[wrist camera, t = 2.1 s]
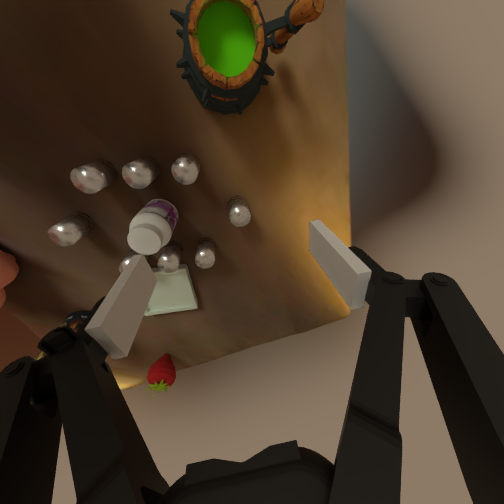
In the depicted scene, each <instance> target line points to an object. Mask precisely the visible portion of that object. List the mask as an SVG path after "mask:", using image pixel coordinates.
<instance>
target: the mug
mask: <svg viewBox="0 0 504 504" xmlns="http://www.w3.org/2000/svg"><path fill="white" fill-rule="evenodd" d="M323 8H324V0H294V1H293V2H292V3H291V4H290V5H289V6H288V8H287V9H286V11H285V15H284V16H283V17H280V18H277V19H275V20H272V21H269V22H267V23H265V21H264V18H263V15H262V13H261V10H260V7H259V4H258V2H257V1H256V0H190V2H189V3H188V5H187V6H186V12H185V14H184V13H181V12H178V11H175V10H172V9H171V10H170V15H171V16H172V17H173V18H174V19H175V20H176V21H177V22H178V23H179V24H181V25H182V26H183V31H181V30H178V29H177V33H176V34H177V35H178V36H179V37H181V38H182V39H183V42H184V49H183V58H182V59H181V60H179V61H178V62H177V63H176V65H177V68H185V72H184V73H183V74H182V75H181V76H182V79H187V81H188V83H189V84H190V86H191V88H192V90H193V92H194V93H195V95H196V97H197V98H198V99H199V100H200V101H201V102H202V103H203V104H204V108H205V109H207V107H208V108H209V109H210V110H213V111H216V112H219V113H222V114H230V113H238V112H239V114H240V115H241V114H242V109H244V108H245V107H247V106H248V105H250V104H251V103H252V101H253V99H254V98H255V96H256V95H257V93H258V92H259V90H260V86H261V84H262V85H268V81H267V80H266V79H265V78H264V77H263V74H267V75H271V76H274V73H275V72H274V71H273V70H272V69H271V68H270V67H269V66H268V65H267V64H266V63H265V62H266V59H267V55H268V47H269V48H270V50H271V52H273V53H275V54H279V53H281V52H283V50H284V48H285V47H286V44H287V42H288V40H289V39H290V38H291V37H292V36H293V34H296V33H297V32H298V31H299V30H300V29H301V28H302V27H303V26H304V25H305V23H308V22H312V21H314V20H316V19H317V18H318V17H319V16H320V14H321V13H322V10H323ZM270 34H271V35H270ZM268 35H270V36H269V38H267V36H268Z"/></svg>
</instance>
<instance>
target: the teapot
mask: <svg viewBox="0 0 504 504" xmlns="http://www.w3.org/2000/svg"><path fill="white" fill-rule="evenodd" d="M15 261H16V259H15V257H14V256H13V255H11V254H9V253H4V252H3V251H2V250H1V249H0V308H1V307H2V306H3V304H4V302H5V299H6V293H5V290H4V287H5V286H6V285H8V284H9V283H10V282H12V281H13V280H14V279H15V278H16V276H17V274H18V272H19V266H18V265H17V263H16V262H15Z"/></svg>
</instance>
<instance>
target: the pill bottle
mask: <svg viewBox="0 0 504 504" xmlns="http://www.w3.org/2000/svg"><path fill="white" fill-rule="evenodd" d="M177 221H178V211H177V209H176V208H175V206H174V205H173V204H172V203H170V202H169V201H167V200H164V199H153V200H151V201H149V202H148V203H147V204H146V205H145V206H144V207H143V208H142V209H141V210H140V211H139V212H138V214H137V215H136V216H135V217H134V218H133V219H132V221H131V223H130V226H129V231H130V232H129V234H128V236H127V241H128V244H129V246H130V247H131V248H132V249H133V250H134V251H136V252H137V253H140V254H143V255H151V254H154V253H156V252H158V251H159V249H160V248H161V247H163V246H165V245H166V244H167V243H168V242H169V240H170V239H171V236H172V234H173V231H174V229H175V226H176V224H177Z"/></svg>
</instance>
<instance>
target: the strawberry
mask: <svg viewBox="0 0 504 504" xmlns="http://www.w3.org/2000/svg"><path fill="white" fill-rule="evenodd" d="M175 378H176V372H175V367H174V364H173V362H172V360H171V358H170V356H169V354H165V355H163V356H162V357H161V358H159V359H158V360H157V361H156V362H155V363H154V364H153V365H152V366H151V368H150V370H149V371H148V376H147V380H148V382H149V384H148V385H150V386H151V387H152V388H149V389H147V390H154V389H155V388H157V391H159V392H160V391H161V390H163V391H167V390H166V389H165V388H168V387H170V386H171V385H172V384H173V383H174V381H175ZM155 394H156V393H155ZM154 396H155V395H154Z"/></svg>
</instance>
